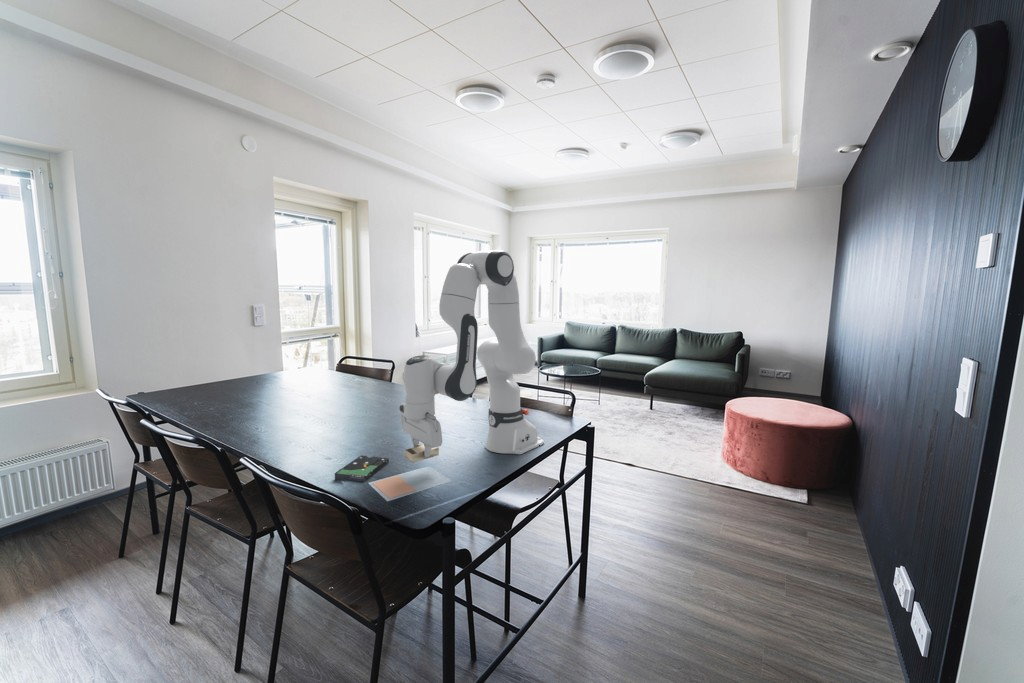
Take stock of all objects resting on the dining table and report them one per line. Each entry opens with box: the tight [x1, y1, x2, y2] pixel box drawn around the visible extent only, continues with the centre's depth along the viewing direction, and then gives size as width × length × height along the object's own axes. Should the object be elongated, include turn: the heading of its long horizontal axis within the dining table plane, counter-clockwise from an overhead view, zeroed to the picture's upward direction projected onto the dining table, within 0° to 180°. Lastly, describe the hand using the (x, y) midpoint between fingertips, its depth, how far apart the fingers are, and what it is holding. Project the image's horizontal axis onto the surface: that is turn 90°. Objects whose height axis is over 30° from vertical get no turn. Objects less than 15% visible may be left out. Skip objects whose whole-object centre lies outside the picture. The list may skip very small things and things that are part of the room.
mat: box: [367, 465, 452, 502], centre depth 126 cm, size 20×14×1 cm
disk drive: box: [334, 454, 390, 483], centre depth 134 cm, size 10×3×15 cm
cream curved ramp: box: [403, 444, 440, 464], centre depth 132 cm, size 9×5×3 cm, turn 129°
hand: (421, 453), depth 132 cm, fingers closed on cream curved ramp, 5 cm apart
